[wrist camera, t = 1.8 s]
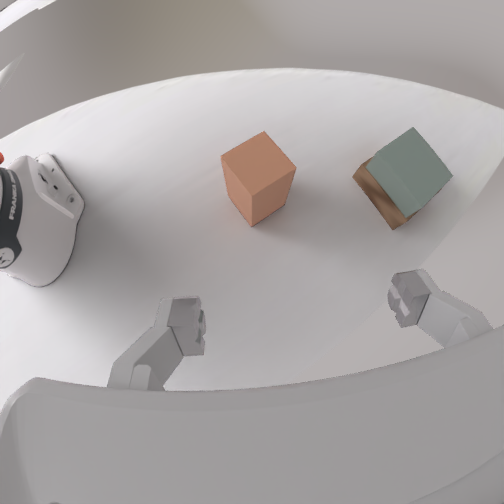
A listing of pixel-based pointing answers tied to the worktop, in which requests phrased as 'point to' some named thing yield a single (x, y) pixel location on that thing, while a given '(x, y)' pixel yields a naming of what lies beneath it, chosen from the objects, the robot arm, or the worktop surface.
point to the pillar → (257, 177)
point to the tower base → (380, 197)
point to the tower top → (409, 171)
